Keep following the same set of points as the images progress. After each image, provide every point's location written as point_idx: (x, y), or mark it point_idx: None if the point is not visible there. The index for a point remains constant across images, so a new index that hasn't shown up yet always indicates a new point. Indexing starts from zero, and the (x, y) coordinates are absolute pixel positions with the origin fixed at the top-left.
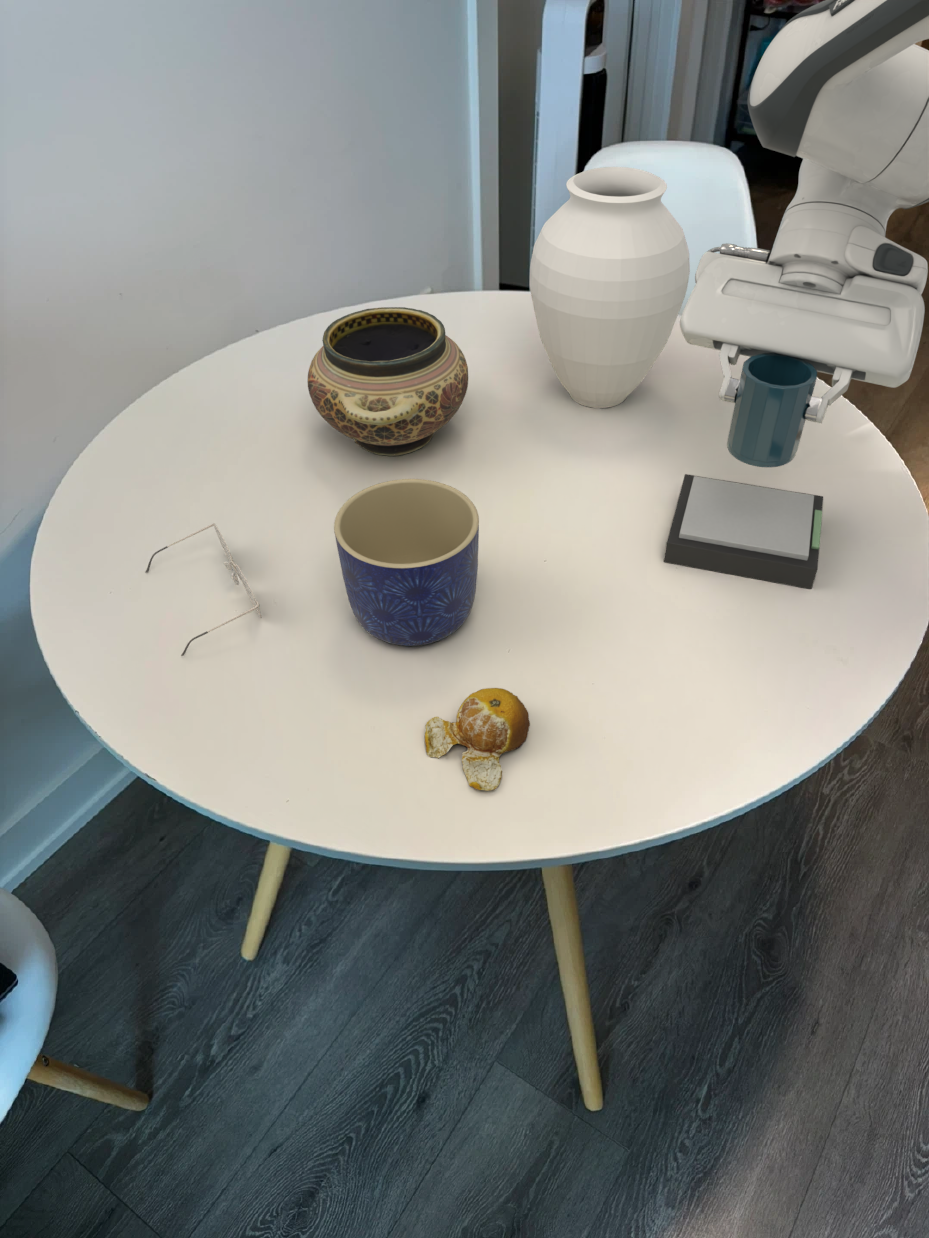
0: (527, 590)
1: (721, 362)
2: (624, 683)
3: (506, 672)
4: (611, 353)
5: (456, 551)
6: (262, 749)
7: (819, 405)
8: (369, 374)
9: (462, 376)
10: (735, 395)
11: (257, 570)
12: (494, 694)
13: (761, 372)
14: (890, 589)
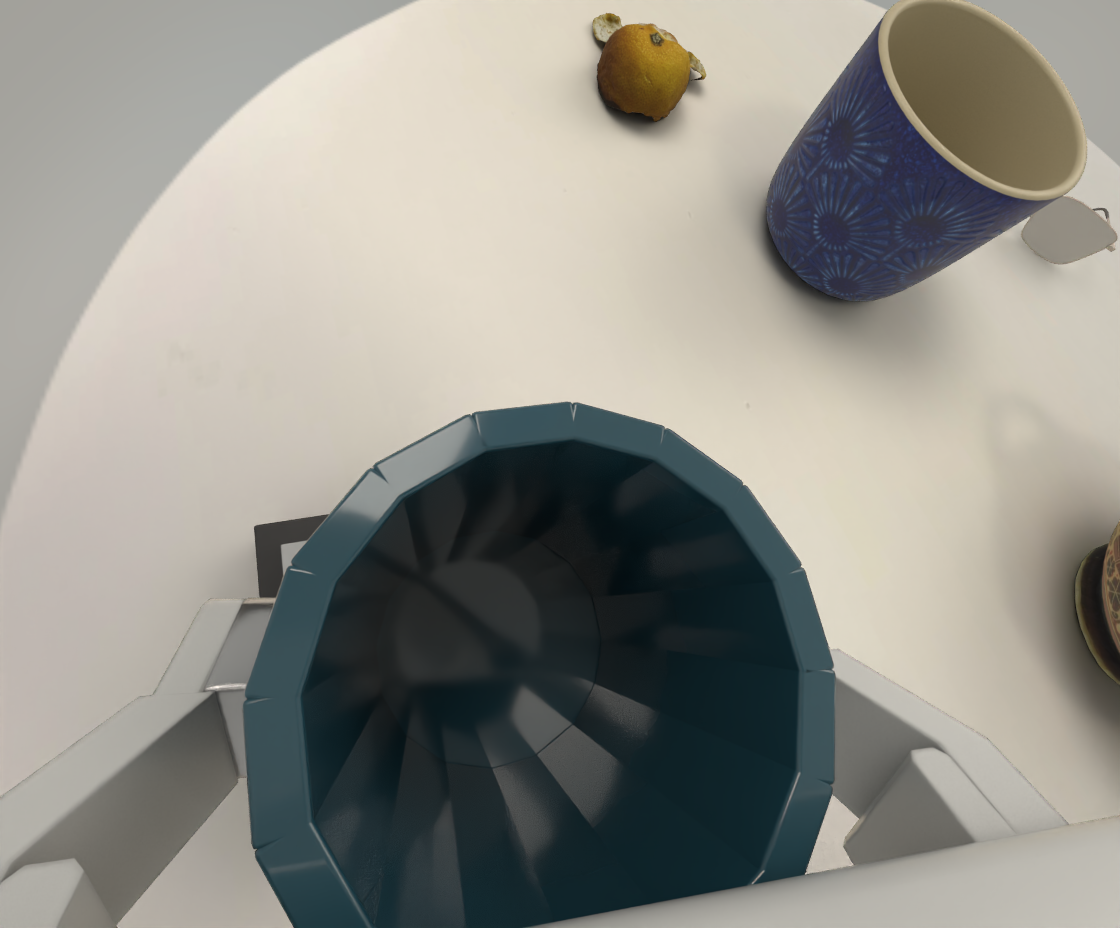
0: (733, 331)
1: (925, 702)
2: (525, 202)
3: (672, 180)
4: None
5: (882, 36)
6: (813, 36)
7: (227, 647)
8: None
9: None
10: None
11: (1008, 253)
12: (664, 52)
13: (683, 815)
14: (70, 624)
